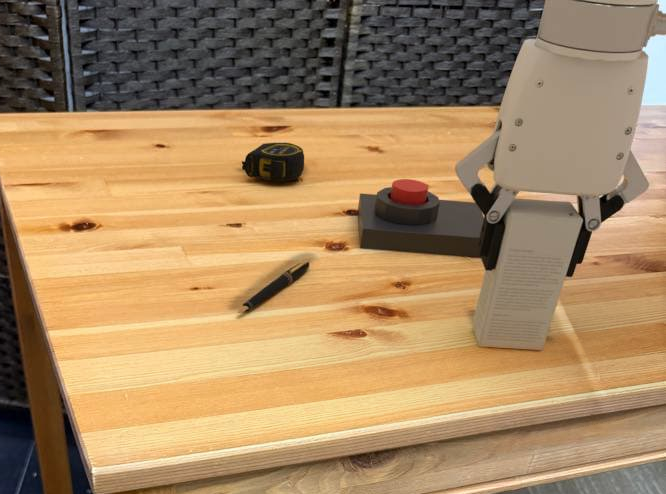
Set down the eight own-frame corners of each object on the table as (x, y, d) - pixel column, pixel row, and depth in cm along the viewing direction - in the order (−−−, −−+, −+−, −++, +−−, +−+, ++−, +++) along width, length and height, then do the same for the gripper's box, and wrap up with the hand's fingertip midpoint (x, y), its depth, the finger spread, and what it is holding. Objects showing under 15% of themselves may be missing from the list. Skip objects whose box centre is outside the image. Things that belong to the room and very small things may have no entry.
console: (474, 221, 97) (481, 186, 95) (487, 258, 89) (496, 222, 86) (357, 212, 97) (362, 177, 95) (359, 248, 89) (365, 211, 87)
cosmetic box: (533, 329, 77) (572, 200, 69) (543, 352, 74) (585, 219, 66) (469, 325, 77) (501, 195, 69) (476, 347, 74) (511, 214, 66)
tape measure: (262, 166, 108) (264, 136, 105) (310, 176, 106) (313, 145, 104) (240, 181, 103) (242, 150, 101) (290, 191, 101) (292, 160, 99)
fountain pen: (241, 322, 75) (242, 307, 74) (230, 318, 75) (231, 303, 74) (313, 269, 85) (315, 255, 84) (303, 267, 85) (305, 253, 84)
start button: (423, 196, 92) (426, 180, 91) (427, 209, 89) (430, 192, 88) (388, 193, 92) (391, 177, 91) (390, 206, 89) (393, 189, 88)
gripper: (695, 26, 61) (613, 258, 73) (467, 8, 62) (422, 242, 74) (732, 47, 56) (636, 294, 68) (481, 28, 56) (430, 277, 68)
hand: (526, 265), depth 71 cm, fingers closed on cosmetic box, 6 cm apart
